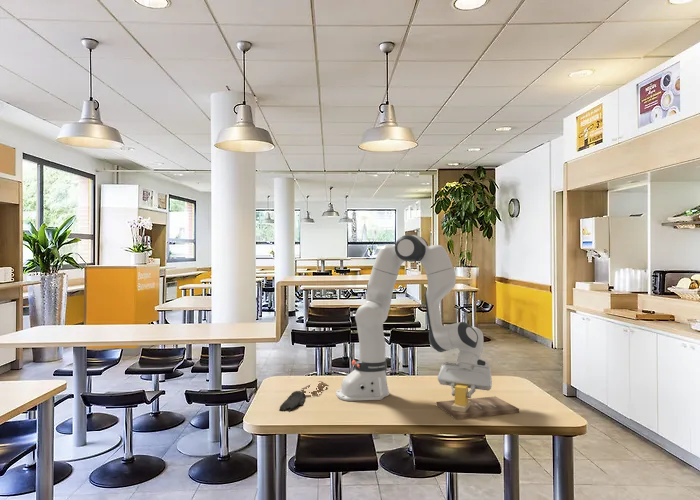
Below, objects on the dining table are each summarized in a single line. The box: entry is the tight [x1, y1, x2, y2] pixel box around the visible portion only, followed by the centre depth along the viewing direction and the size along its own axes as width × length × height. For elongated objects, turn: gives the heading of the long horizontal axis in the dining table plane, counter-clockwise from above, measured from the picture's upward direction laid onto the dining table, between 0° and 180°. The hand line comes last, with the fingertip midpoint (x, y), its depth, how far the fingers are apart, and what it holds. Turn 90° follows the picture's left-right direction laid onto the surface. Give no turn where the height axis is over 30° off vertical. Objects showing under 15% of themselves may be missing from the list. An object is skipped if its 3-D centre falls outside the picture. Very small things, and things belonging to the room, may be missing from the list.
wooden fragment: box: [300, 380, 330, 398], centre depth 216 cm, size 26×11×1 cm, turn 167°
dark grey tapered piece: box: [278, 390, 307, 412], centre depth 196 cm, size 22×7×3 cm, turn 170°
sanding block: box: [452, 384, 471, 412], centre depth 185 cm, size 9×5×8 cm, turn 153°
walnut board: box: [435, 395, 520, 420], centre depth 188 cm, size 26×16×2 cm, turn 106°
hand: (461, 396), depth 185 cm, fingers open, 4 cm apart
